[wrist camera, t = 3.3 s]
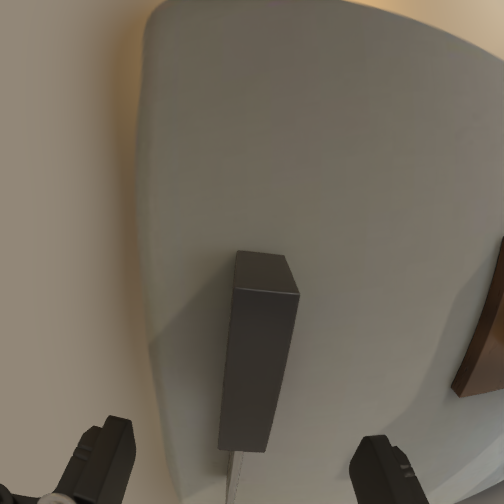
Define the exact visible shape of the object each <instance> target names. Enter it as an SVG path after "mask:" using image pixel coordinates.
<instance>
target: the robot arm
mask: <svg viewBox="0 0 504 504" xmlns="http://www.w3.org/2000/svg"><path fill="white" fill-rule="evenodd" d="M135 456H136V444H135V439H134V433H133V427H132V422H131V420H128V419H124V418H120V417H116V416H111V415H110V416H108V418H107V419H106V421H105V424H104V426H103V428H100V427H97V426H92V427H91V428H90V429H89V430H87V431H86V432H85V433H84V434H83V435H82V437H81V439H80V441H79V443H78V447H76V449H75V451H74V453H73V456H72V457H71V459H70V461H69V463H68V465H67V467H66V469H65V471H64V473H63V475H62V477H61V479H60V481H59V483H58V486H57V488H56V489H55V490H54V491H53V492H52V493H50V494H46V495H44V496H43V497H40V498H34V497H27V496H21V495H16V494H11V493H10V491H9V490H8V489H7V488H6V487H5V486H4V485H2V484H0V504H121V503H122V500H123V497H124V494H125V490H126V487H127V484H128V480H129V477H130V474H131V471H132V468H133V465H134V461H135ZM349 474H350V478H351V481H352V485H353V488H354V491H355V494H356V498H357V501H358V504H429V502H428V500H427V498H426V496H425V494H424V492H423V489H422V487H421V485H420V483H419V481H418V479H417V477H416V476H415V473H414V471H413V468H412V467H411V464H410V462H409V460H408V458H407V456H406V455H405V454H404V453H403V452H402V451H401V450H400V449H399V448H398V447H397V446H394V447H392V446H391V444H390V442H389V440H388V438H387V436H386V435H374V436H365V437H364V438H363V439H362V440H361V442H360V444H359V446H358V448H357V450H356V452H355V454H354V456H353V458H352V459H351V461H350V465H349Z"/></svg>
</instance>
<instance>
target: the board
mask: <svg viewBox="0 0 504 504" xmlns="http://www.w3.org/2000/svg"><path fill="white" fill-rule="evenodd" d="M451 388H452V389H453V390H454V392H455V393H456V394H457V395H458V397H459V398H461V397H466V396H472V395H477V394H481V393H486V392H491V391H495V390H499V389H503V388H504V237H503V241H502V246H501V250H500V254H499V258H498V262H497V266H496V270H495V274H494V277H493V281H492V284H491V287H490V291H489V294H488V297H487V300H486V303H485V306H484V309H483V312H482V315H481V318H480V320H479V323H478V326H477V328H476V331H475V334H474V336H473V339H472V341H471V344H470V346H469V349H468V351H467V353H466V356H465V358H464V360H463V362H462V365H461V367H460V369H459V371H458V373H457V375H456V378H455V380H454V382H453V384H452V386H451Z"/></svg>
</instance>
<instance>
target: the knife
mask: <svg viewBox="0 0 504 504" xmlns="http://www.w3.org/2000/svg"><path fill="white" fill-rule="evenodd" d="M299 298H300V293H299V290H298V288H297V285H296V283H295V281H294V278H293V276H292V273H291V271H290V268H289V266H288V264H287V261H286V259H285V256H284V255H275V254H266V253H257V252H248V251H239V250H238V251H237V256H236V265H235V274H234V284H233V293H232V302H231V312H230V322H229V331H228V341H227V351H226V361H225V371H224V382H223V392H222V403H221V414H220V426H219V438H218V449H219V450H229V451H230V456H229V463H228V470H227V481H226V504H234V500H235V495H236V490H237V485H238V480H239V475H240V469H241V464H242V459H243V453H244V452H261V453H264V452H265V451H266V447H267V443H268V439H269V435H270V431H271V427H272V423H273V419H274V415H275V411H276V407H277V402H278V398H279V394H280V389H281V385H282V380H283V376H284V371H285V367H286V362H287V358H288V353H289V348H290V343H291V338H292V334H293V329H294V324H295V319H296V313H297V308H298V303H299Z"/></svg>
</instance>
